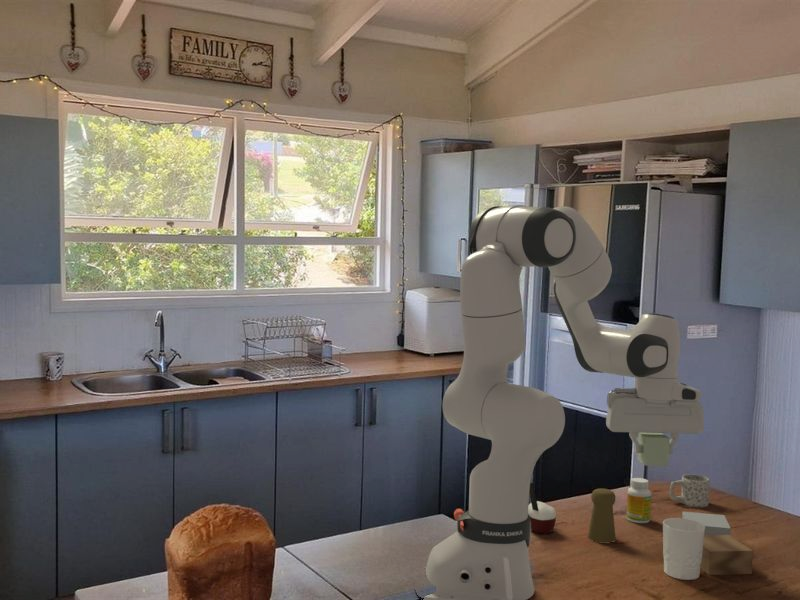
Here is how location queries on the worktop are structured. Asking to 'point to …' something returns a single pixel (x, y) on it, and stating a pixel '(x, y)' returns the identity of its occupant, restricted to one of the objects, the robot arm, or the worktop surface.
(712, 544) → the walnut block
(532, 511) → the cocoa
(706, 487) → the mug
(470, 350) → the robot arm
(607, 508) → the cork
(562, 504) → the worktop surface
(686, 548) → the white cup
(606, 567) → the worktop surface
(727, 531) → the grey block
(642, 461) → the sage block
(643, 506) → the supplement bottle
